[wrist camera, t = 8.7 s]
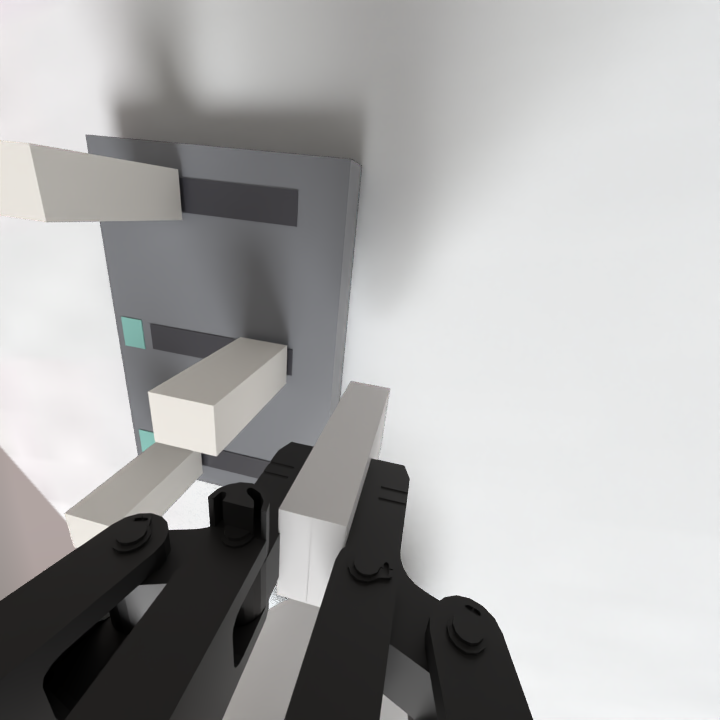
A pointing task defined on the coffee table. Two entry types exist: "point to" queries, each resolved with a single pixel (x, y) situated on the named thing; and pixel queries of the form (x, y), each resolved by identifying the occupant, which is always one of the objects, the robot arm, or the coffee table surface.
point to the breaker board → (237, 284)
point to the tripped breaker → (217, 395)
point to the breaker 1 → (83, 186)
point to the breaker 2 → (136, 490)
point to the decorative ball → (281, 666)
